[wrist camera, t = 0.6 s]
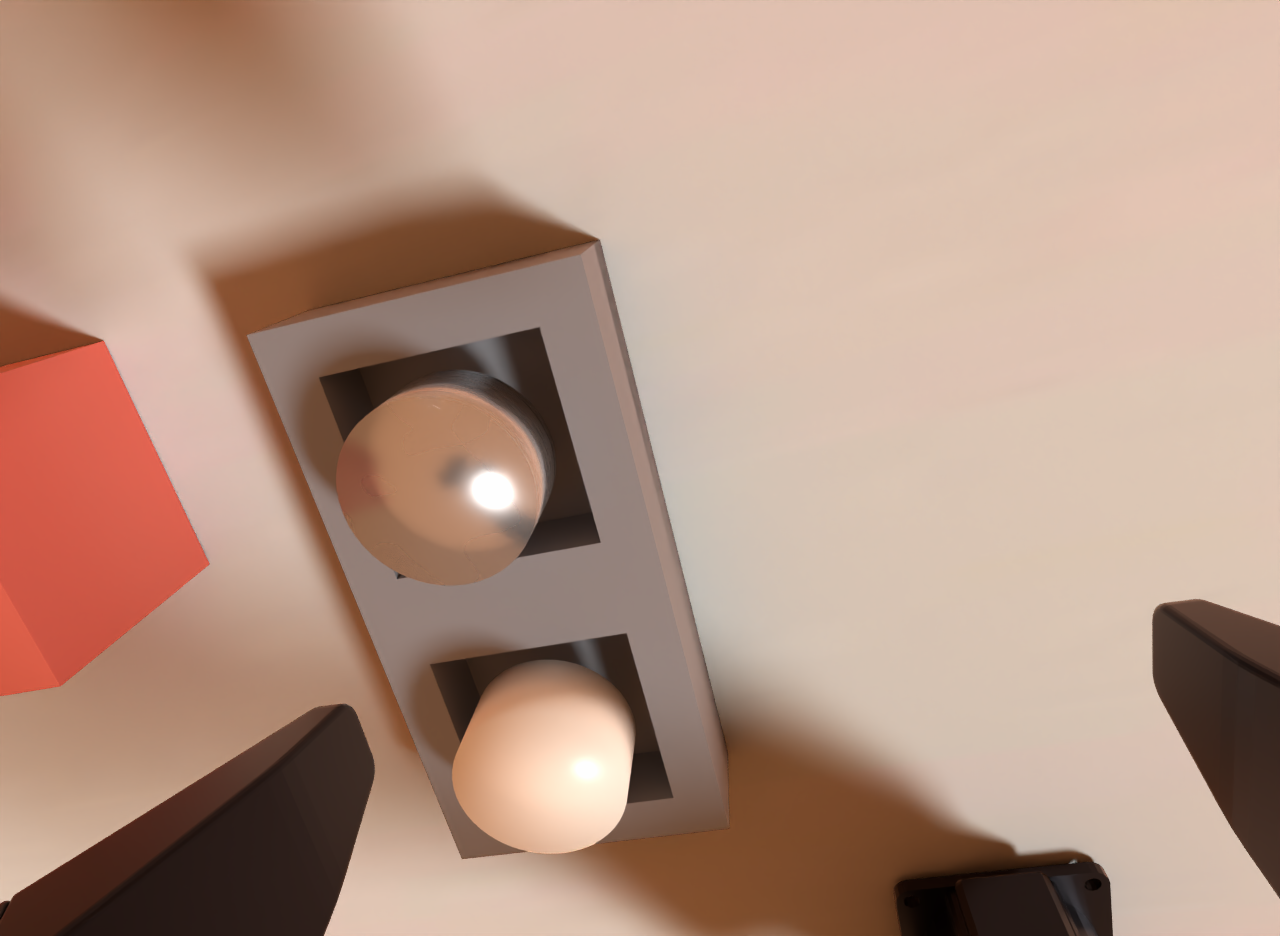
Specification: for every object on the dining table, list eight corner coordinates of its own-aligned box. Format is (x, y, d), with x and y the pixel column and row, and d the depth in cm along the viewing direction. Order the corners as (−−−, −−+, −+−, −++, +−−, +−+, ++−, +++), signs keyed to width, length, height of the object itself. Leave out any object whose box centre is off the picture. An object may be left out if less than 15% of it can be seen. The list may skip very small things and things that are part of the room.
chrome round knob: (577, 524, 20) (561, 568, 18) (411, 555, 21) (377, 600, 18) (526, 351, 18) (502, 376, 16) (349, 390, 19) (305, 420, 17)
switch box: (728, 753, 25) (729, 828, 23) (480, 786, 27) (452, 859, 24) (599, 239, 20) (580, 254, 17) (297, 313, 21) (235, 338, 19)
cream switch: (652, 780, 23) (645, 843, 20) (503, 799, 23) (482, 862, 21) (613, 648, 21) (602, 701, 19) (455, 672, 22) (428, 726, 20)
